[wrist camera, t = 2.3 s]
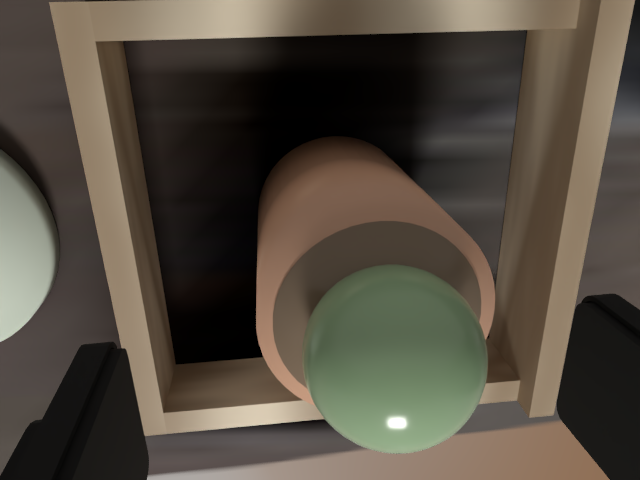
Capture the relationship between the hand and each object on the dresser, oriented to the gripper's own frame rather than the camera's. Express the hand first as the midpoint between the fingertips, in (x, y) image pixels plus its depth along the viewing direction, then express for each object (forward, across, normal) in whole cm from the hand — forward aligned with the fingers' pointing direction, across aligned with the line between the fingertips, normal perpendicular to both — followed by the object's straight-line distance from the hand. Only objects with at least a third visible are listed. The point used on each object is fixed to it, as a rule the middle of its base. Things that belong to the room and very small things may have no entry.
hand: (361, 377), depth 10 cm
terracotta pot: (+10, -1, 0) cm, 10 cm away
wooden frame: (+10, -1, 0) cm, 10 cm away
